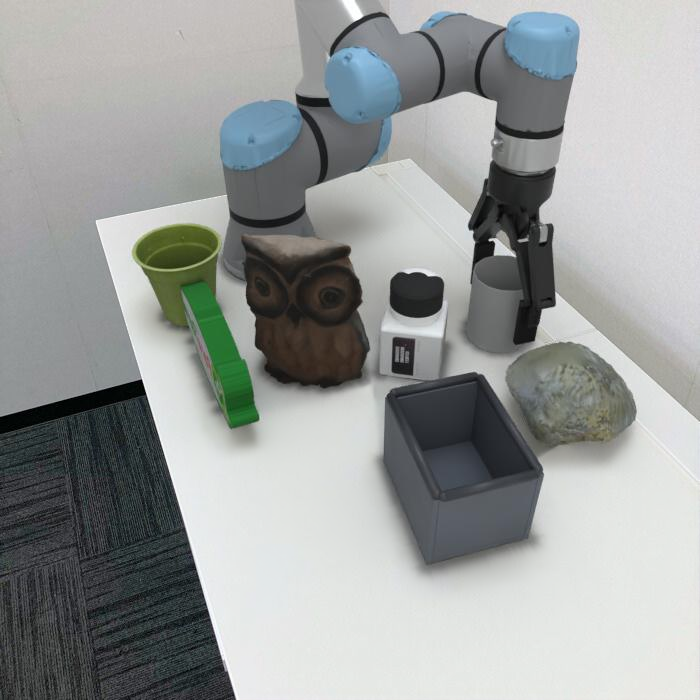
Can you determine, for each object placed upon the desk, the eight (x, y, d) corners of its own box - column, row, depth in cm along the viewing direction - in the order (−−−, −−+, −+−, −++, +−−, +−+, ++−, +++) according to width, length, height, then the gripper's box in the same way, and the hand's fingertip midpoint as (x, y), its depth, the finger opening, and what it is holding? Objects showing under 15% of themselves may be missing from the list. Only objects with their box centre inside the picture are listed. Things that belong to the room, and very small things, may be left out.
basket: (428, 569, 69) (530, 542, 71) (435, 500, 62) (548, 472, 64) (381, 457, 80) (471, 437, 82) (383, 388, 73) (481, 368, 75)
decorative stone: (557, 387, 94) (622, 345, 88) (592, 485, 83) (667, 445, 78) (488, 345, 86) (554, 296, 81) (517, 446, 76) (594, 399, 71)
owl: (373, 380, 90) (375, 245, 77) (283, 413, 86) (268, 276, 73) (329, 326, 99) (324, 197, 86) (245, 354, 94) (226, 222, 81)
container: (438, 383, 90) (446, 300, 81) (378, 375, 91) (380, 293, 82) (444, 345, 95) (452, 264, 87) (388, 338, 97) (390, 257, 88)
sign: (262, 442, 82) (254, 379, 76) (236, 450, 81) (225, 387, 75) (207, 316, 101) (196, 257, 94) (185, 322, 100) (173, 262, 94)
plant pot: (139, 302, 104) (123, 235, 96) (217, 281, 108) (206, 215, 100) (159, 348, 95) (143, 278, 88) (243, 323, 99) (233, 255, 92)
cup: (540, 338, 96) (553, 277, 90) (495, 361, 93) (505, 299, 86) (497, 308, 102) (506, 248, 95) (453, 328, 98) (460, 268, 92)
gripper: (451, 125, 89) (440, 266, 103) (545, 218, 71) (516, 375, 85) (506, 118, 91) (487, 258, 105) (611, 208, 72) (572, 364, 86)
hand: (500, 311), depth 95 cm, fingers open, 13 cm apart
